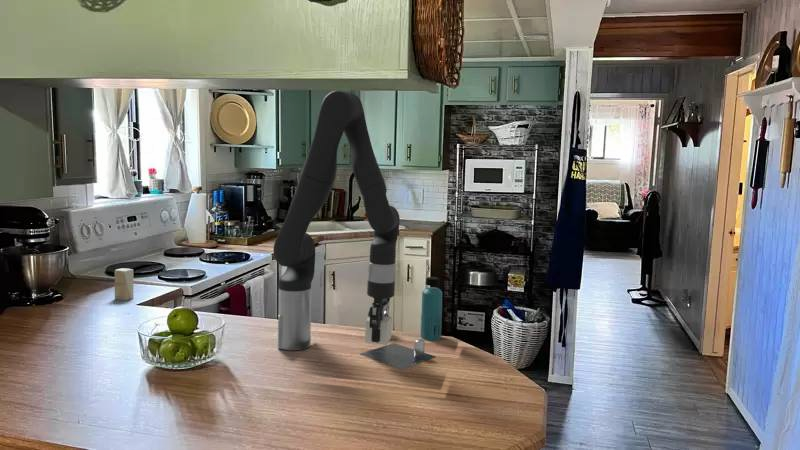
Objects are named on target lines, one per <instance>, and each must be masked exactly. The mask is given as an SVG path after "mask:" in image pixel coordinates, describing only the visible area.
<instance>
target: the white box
mask: <svg viewBox="0 0 800 450" xmlns="http://www.w3.org/2000/svg"><path fill="white" fill-rule="evenodd" d="M380 317H381V316H380ZM374 324H377V321H374ZM369 325H370V317H369V318H368V317H367V319H365V331H364V334H365V336H364V343H367V344H375V345H382V346H386V345H388V343H389V342H390V340H391V339H392V329H393V328H392V326H393V316H390V315H389V316H386V317H385V316H384V320H383V321H382V322H381V329H380V341H379V342H372V340H371V339H372V328H370V326H369Z"/></svg>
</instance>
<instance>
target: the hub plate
mask: <svg viewBox="0 0 800 450" xmlns="http://www.w3.org/2000/svg"><path fill="white" fill-rule="evenodd" d="M413 343H414V344H413V348H410V347H407V346H405V345H401V344H397V343H396V342H393V343H389V344H387V345H382V346H381V347H377V348H374V349H371V350H368V351H365V352H361V353H359V355H360V356H363V357H366V358H369V359H372V360H373V361H374V360H375V361H376V362H380V363H383V364H386V365H388V366H392V367H394V368H397V369H399V370H402V371H403V370H405V369H408V368H411V367H413V366H416V365H419V364H421V363H424V362H427V361H429V360H432V359H434V358H436V357H437V356H436V355H432V354H429V353H426V352H425V339H422V338H417V339H414V342H413Z"/></svg>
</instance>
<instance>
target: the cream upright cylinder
mask: <svg viewBox="0 0 800 450" xmlns="http://www.w3.org/2000/svg"><path fill="white" fill-rule="evenodd" d="M132 299H134V269H132V268H127V267H126V268H125V267H124V268H123V267H122V268H117V269H115V270H114V300H118V301H128V300H132Z"/></svg>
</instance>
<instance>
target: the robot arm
mask: <svg viewBox="0 0 800 450" xmlns="http://www.w3.org/2000/svg"><path fill="white" fill-rule="evenodd" d="M317 117H318V118H317V122H316V126H315V131H314V134H313V137H312V138H313V139H312V142H311V144H310V148H309V150H308V152H307V154H306V155H307V156H306V159H305V161H304V164H303V167H302V170H301V173H300V175H299V178H298V182H297V184H296V189H295V191H294V194H293V197H292V200H291V202H290V206H289V208H288V211H287V214H286V216H285V219H284V220H283V223H282V225H281V228H280V229H279V232H278V234H277V236H276V238H275V240H274V241H275V242H274V244H273V256H274V257H273V258H274V259H275V261H276V263H277V264H278V265H280V266H281V267H285V268H286V269H285V271H284V273H283V274H282V275H281V276H280V278H279V279H278V321H277V322H278V324H277V327H278V328H277V333H278V334H277V349H278V350H285V351H300V350H301V351H302V350H305V349H308V348H310V346H311V339H312V337H311V328H312V324H311V323H312V322H311V321H312V319H311V317H312V282H313V280H314V277H315V266H316V265H315V264H316V244H315V242H314V238H313V237H312V236H311V234H309V233H307V230H308V228H309V226H310V224H311V222H312V221H313V219H314V218H315V217H316V216H317V214H318V213H319V212H320V210H321V209H322V208H323V207H324V205H325V204H326V202H327V200H328V199H329V197H330V194H331V192H332V189H333V186H334V183H335V180H336V177H337V170H338V165H337V164H338V148H339V145H340V141H341V139H342V137H343V134H345V137H346V139H347V141H348V142H347V143H348V144H349V149H350V156H351V164H352V171H353V175H354V178H355V179H354V180H355V182H356V183H357V186H358V189H359V192H360V194H361V196H362V199H363V205H364V211H365V215H366V218H367V222H368V224H369V225H370V227H371V229H372V230H373V231H374V234H373V240H372V242H371V244H370V248H369V263H368V269H367V285H366V286H367V287H366V288H367V289H366V295H367V296H369V297H370V298H372V299H374V300H373V302H371V306H370V307H369V310H370V325H369V326H370V328H372V339H371V340H372V342H379V341H380V329H381V322H382V321H383V320H384V316H385V317H386V316H389V317H390V315H389V313H390V312H389V310H390V300H391V298H394V296H395V291H396V290H395V289H396V273H397V271H396V256H397V255H396V253H397V251H396V250H397V248H396V247H397V240H398V237H399V228H400V214H399V211H398V210H397V208H395V207H394V206H393V205H390V203H389V200H388V197H387V192H388V191H387V185H386V183H385V180H384V176H383V174H382V172H381V169H380V166H379V163H378V161H377V158H376V155H375V152H374V149H373V145H372V142H371V138H370V133H369V130H368V125H367V121H366V120H367V119H366V115H365V110H364V105H363V103H362V100H361V98H360V97H359V96H358V95H357V94H355V93H353V92H351V91H346V90H345V91H344V90H333V91H331V92H329V93H327V94H326V95H325V97H324V98H323V100H322V102H321V105H320V109H319V114H318V116H317ZM380 316H381V317H380ZM374 321H377V324H374Z"/></svg>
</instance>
